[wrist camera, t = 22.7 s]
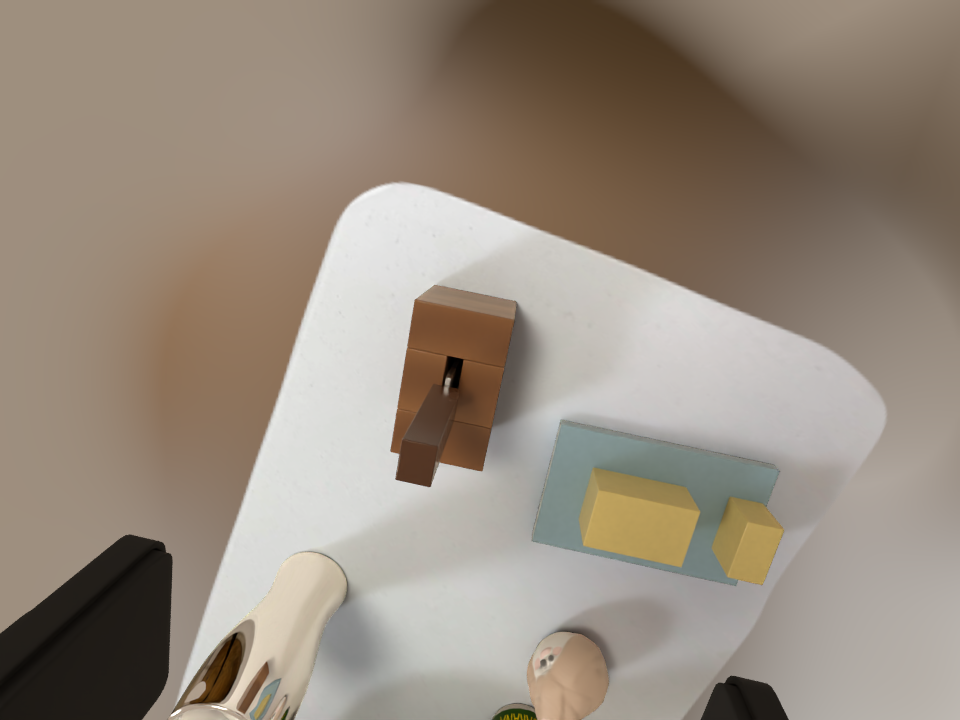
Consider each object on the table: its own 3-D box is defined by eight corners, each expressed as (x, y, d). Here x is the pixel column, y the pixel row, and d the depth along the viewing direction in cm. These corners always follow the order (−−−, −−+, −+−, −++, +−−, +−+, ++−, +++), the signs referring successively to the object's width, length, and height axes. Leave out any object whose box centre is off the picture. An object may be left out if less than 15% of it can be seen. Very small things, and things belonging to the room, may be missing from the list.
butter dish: (560, 419, 40) (561, 424, 39) (774, 464, 40) (780, 470, 39) (531, 534, 43) (531, 541, 42) (731, 578, 42) (736, 586, 42)
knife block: (434, 284, 38) (414, 299, 32) (516, 301, 38) (514, 319, 32) (412, 413, 41) (390, 452, 34) (489, 429, 41) (482, 472, 34)
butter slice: (729, 495, 40) (748, 521, 36) (763, 503, 40) (785, 529, 36) (710, 548, 41) (727, 577, 38) (743, 555, 41) (762, 585, 37)
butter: (592, 466, 40) (598, 489, 37) (686, 486, 40) (701, 511, 36) (578, 519, 41) (582, 546, 38) (669, 539, 41) (681, 568, 38)
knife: (455, 340, 39) (403, 428, 23) (476, 344, 39) (440, 436, 23) (448, 378, 40) (393, 490, 24) (468, 383, 40) (428, 497, 24)
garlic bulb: (518, 622, 45) (516, 705, 38) (594, 610, 44) (608, 693, 37) (536, 685, 47) (538, 778, 39) (610, 675, 46) (626, 768, 38)
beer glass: (351, 549, 45) (267, 708, 30) (354, 620, 47) (275, 801, 32) (270, 543, 45) (149, 696, 31) (276, 613, 47) (164, 788, 33)
